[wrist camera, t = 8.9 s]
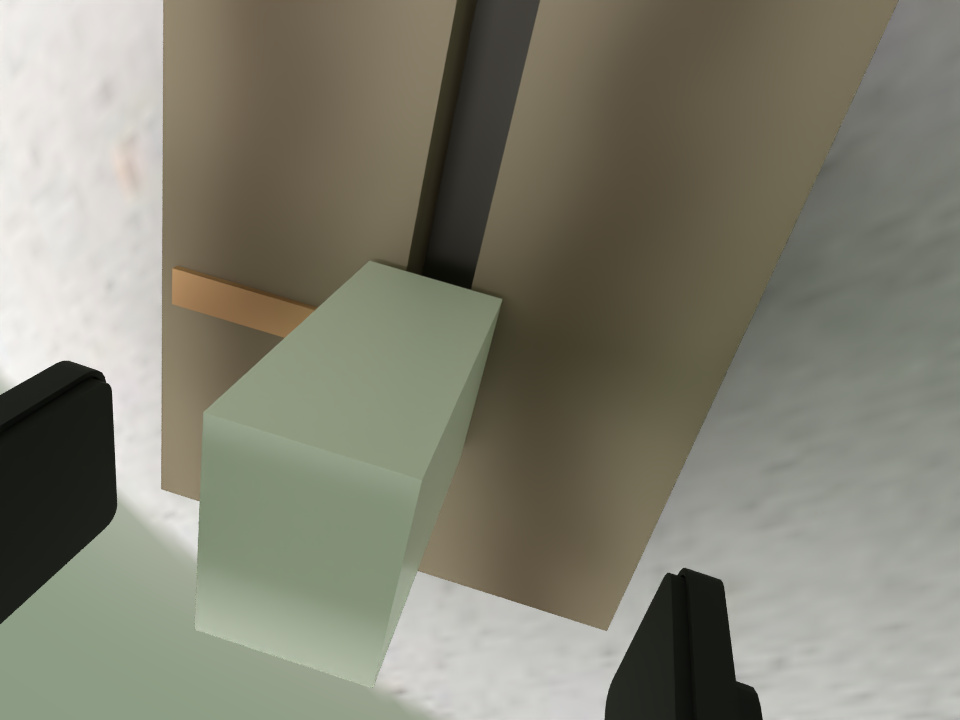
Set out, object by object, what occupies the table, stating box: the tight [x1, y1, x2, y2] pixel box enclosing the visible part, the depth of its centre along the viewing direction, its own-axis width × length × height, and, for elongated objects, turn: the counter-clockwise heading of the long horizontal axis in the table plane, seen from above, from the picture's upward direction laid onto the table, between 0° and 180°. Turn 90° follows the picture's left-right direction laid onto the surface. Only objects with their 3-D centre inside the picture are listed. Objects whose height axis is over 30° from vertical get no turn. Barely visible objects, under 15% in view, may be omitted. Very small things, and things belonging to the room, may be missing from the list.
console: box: [161, 0, 899, 631], centre depth 16 cm, size 14×24×3 cm, turn 167°
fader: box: [195, 261, 502, 688], centre depth 14 cm, size 3×4×9 cm
